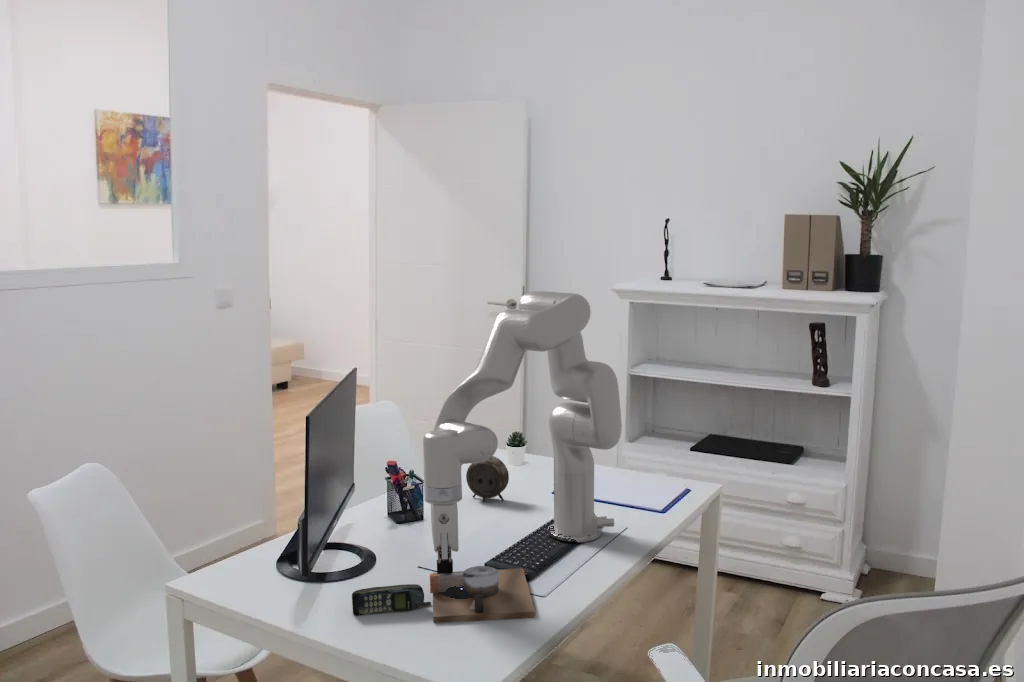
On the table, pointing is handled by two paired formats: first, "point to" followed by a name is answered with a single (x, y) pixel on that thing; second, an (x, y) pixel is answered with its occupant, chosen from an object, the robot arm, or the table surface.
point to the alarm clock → (487, 478)
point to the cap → (467, 581)
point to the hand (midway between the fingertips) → (445, 579)
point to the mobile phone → (388, 599)
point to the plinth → (488, 602)
